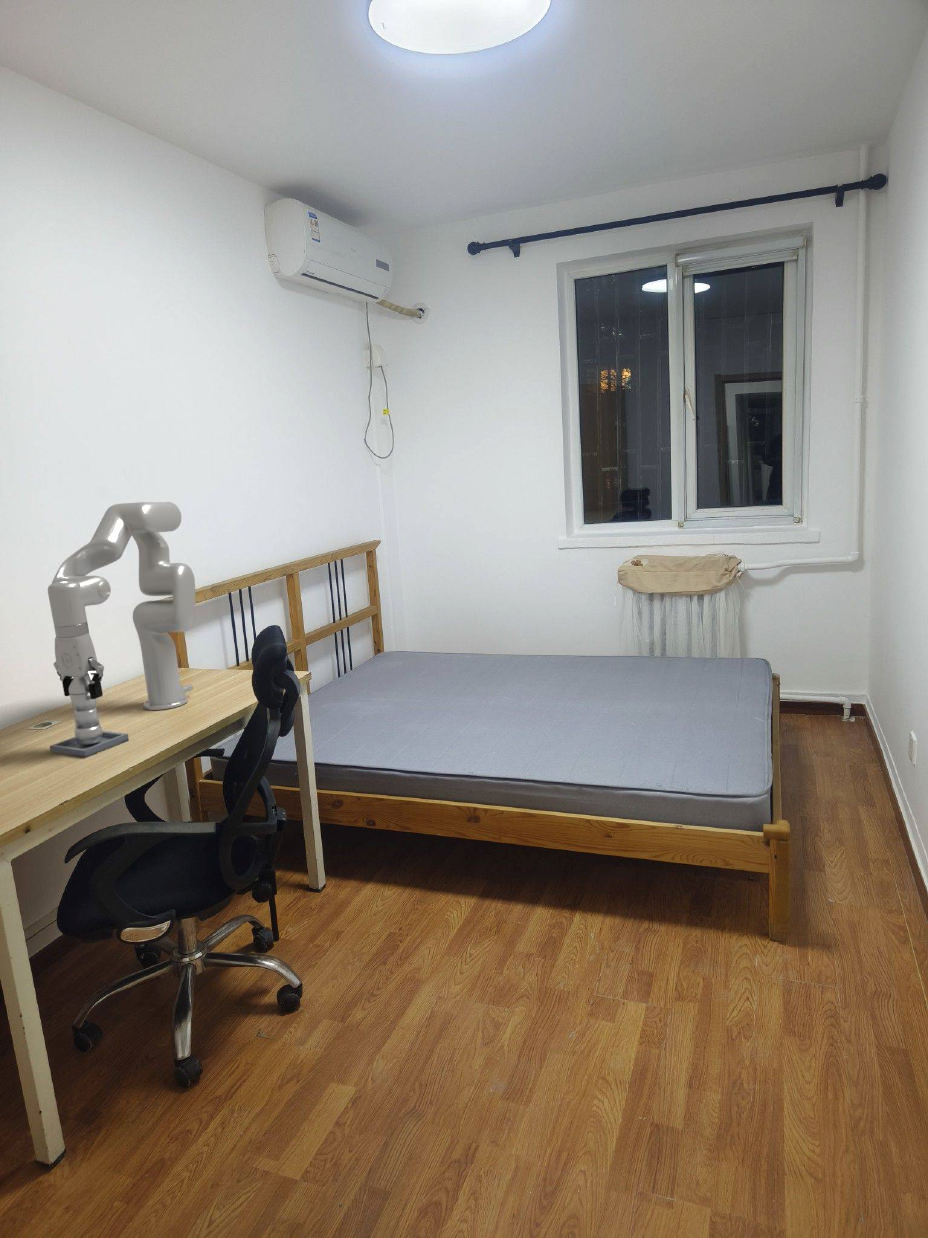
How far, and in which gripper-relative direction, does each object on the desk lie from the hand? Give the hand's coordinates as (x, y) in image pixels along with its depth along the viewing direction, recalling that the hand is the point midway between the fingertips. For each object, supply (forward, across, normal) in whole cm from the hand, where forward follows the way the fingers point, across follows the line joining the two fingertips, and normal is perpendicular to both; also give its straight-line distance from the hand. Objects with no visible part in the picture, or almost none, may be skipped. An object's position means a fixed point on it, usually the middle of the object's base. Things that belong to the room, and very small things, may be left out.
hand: (83, 696), depth 200 cm
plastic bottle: (+13, 0, 0) cm, 13 cm away
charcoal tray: (+13, 0, -1) cm, 13 cm away
